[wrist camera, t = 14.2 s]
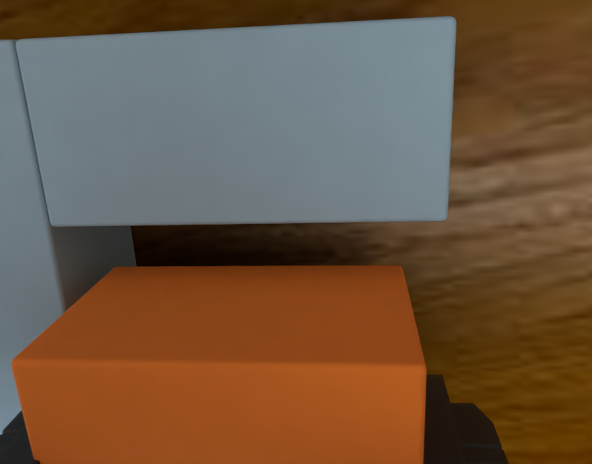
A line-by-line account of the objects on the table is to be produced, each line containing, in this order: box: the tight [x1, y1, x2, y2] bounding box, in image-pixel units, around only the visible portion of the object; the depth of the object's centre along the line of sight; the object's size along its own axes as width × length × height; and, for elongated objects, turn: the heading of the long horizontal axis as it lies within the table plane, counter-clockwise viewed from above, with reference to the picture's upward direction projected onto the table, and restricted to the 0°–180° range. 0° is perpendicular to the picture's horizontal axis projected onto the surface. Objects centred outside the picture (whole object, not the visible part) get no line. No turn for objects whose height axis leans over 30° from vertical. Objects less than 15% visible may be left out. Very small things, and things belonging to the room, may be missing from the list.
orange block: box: [11, 265, 427, 464], centre depth 10 cm, size 6×6×4 cm
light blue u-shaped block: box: [0, 16, 456, 435], centre depth 12 cm, size 14×11×4 cm
